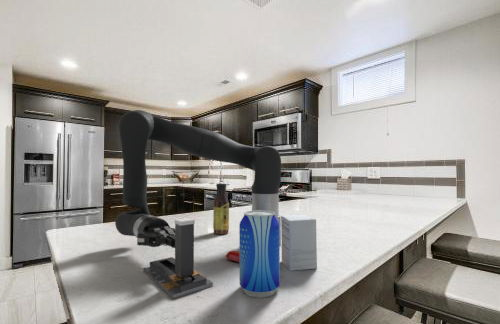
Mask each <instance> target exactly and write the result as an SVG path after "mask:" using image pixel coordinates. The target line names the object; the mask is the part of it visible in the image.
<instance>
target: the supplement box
mask: <svg viewBox="0 0 500 324" xmlns="http://www.w3.org/2000/svg"><path fill="white" fill-rule="evenodd" d="M280 217H281V262H282V263H283V264H284V265H285V267H287V269H288V270H289V272H290V271H291V272H293V271H294V272H295V271H304V270H314V269H315V270H316V269H318V259H317V258H318V252H317V250H318V248H317V219H316V218H314V217H311V216H309V215H306V214H294V215H293V214H292V215H291V214H290V215H281V216H280Z"/></svg>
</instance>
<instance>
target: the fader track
mask: <svg viewBox="0 0 500 324" xmlns="http://www.w3.org/2000/svg"><path fill="white" fill-rule="evenodd" d="M142 269H143V270H142V273H144V274H145V275H146V276H147V277H148V278H150V279H151V280H152V281H153V282H154V283H155V284H156V285H157V286H158V287H159V288H160V289H161V290H162V291H163V292H165V293H166V295H168V296H169V297H170V298H171V299H172V300H175V299H178V298H181V297H183V296H187V295H189V294H192V293H195V292H198V291H202V290H205V289H208V288H211V287H214V286H213V285H214V281H212V280H210V279H209V278H207V276H204V275H202V274H201V273H200V272H198V271H196V270H194V274H193V275H190V277H191V278H192V281H189V282H186V281H185V280H183V278H180V277H179V276H177V275H176V274H175V257H173V256H169V257H166V258H162V259H157V260H152V261H150V262H149V266H148V267H147V266H146V267H144V268H142Z"/></svg>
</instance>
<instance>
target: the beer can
mask: <svg viewBox="0 0 500 324" xmlns="http://www.w3.org/2000/svg"><path fill="white" fill-rule="evenodd" d="M238 227H239V233H238V234H239V251H240V262H239V286H240V288H241V289H242V291H243V293H244V294H246V295H247V296H249V297H253V298H268V297H271V296H273V295H275V293H276V291H278V288H280V283H281V280H280V279H281V278H280V277H281V275H280V274H281V273H280V272H281V270H280V269H281V268H280V266H281V265H280V264H281V263H280V262H281V261H280V259H281V258H280V257H281V256H280V250H281V249H280V246H281V245H280V243H279V222H278V220H277V219H276V217H275V213H274V212H272V211H263V210H255V211H252V210H249V211H248V210H247V211H245V212H243V217H242V218H241V220H240V221H239V226H238Z"/></svg>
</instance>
